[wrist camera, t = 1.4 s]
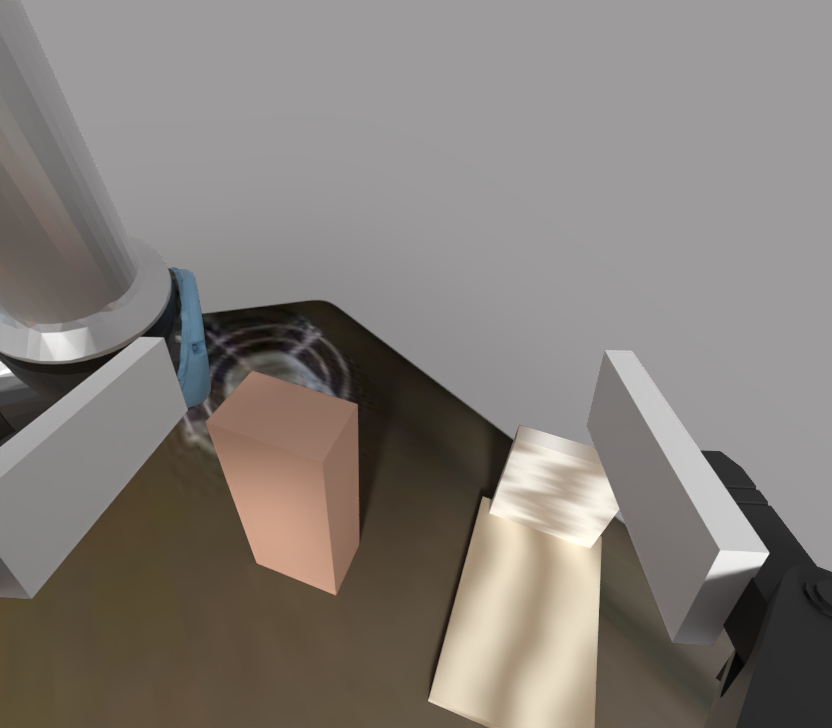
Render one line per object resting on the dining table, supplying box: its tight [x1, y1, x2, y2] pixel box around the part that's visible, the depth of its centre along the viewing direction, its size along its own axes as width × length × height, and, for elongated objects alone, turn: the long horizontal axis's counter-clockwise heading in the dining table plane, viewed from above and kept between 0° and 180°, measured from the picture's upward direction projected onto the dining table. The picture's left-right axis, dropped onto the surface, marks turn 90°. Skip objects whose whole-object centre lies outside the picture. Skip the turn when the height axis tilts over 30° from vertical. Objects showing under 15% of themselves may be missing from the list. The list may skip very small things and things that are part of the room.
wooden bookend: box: [428, 425, 619, 728], centre depth 36 cm, size 12×18×14 cm, turn 160°
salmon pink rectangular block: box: [206, 371, 359, 595], centre depth 36 cm, size 8×5×20 cm, turn 70°
